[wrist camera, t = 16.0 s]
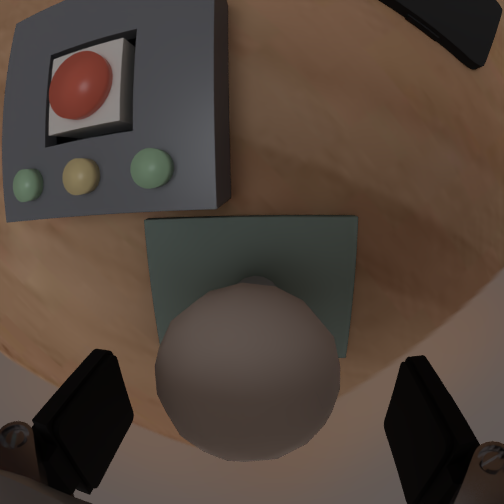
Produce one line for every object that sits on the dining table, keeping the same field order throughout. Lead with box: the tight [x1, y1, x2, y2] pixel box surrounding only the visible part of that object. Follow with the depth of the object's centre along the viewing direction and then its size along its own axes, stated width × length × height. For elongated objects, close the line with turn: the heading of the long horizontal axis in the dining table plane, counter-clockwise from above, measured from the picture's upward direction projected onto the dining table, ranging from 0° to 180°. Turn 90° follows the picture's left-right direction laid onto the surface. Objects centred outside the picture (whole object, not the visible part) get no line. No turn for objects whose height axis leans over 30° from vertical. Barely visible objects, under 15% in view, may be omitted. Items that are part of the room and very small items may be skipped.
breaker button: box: [49, 38, 136, 139], centre depth 12 cm, size 4×4×4 cm
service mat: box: [144, 215, 358, 358], centre depth 18 cm, size 12×9×1 cm
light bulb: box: [155, 276, 340, 462], centre depth 13 cm, size 7×7×11 cm
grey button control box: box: [2, 0, 231, 222], centre depth 13 cm, size 12×12×6 cm
